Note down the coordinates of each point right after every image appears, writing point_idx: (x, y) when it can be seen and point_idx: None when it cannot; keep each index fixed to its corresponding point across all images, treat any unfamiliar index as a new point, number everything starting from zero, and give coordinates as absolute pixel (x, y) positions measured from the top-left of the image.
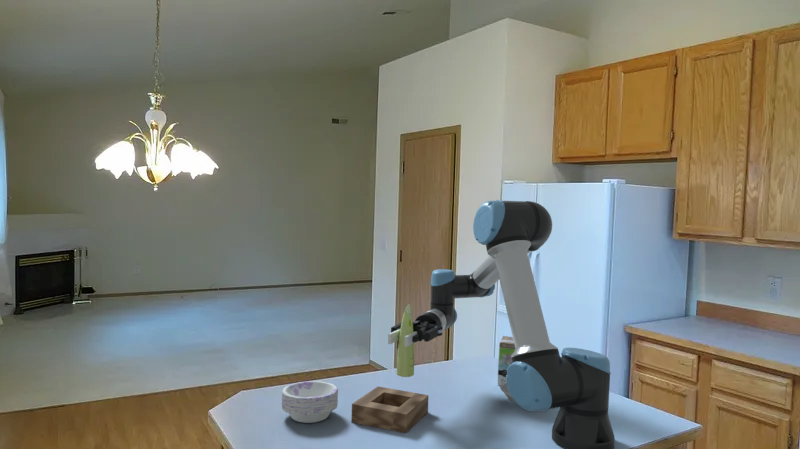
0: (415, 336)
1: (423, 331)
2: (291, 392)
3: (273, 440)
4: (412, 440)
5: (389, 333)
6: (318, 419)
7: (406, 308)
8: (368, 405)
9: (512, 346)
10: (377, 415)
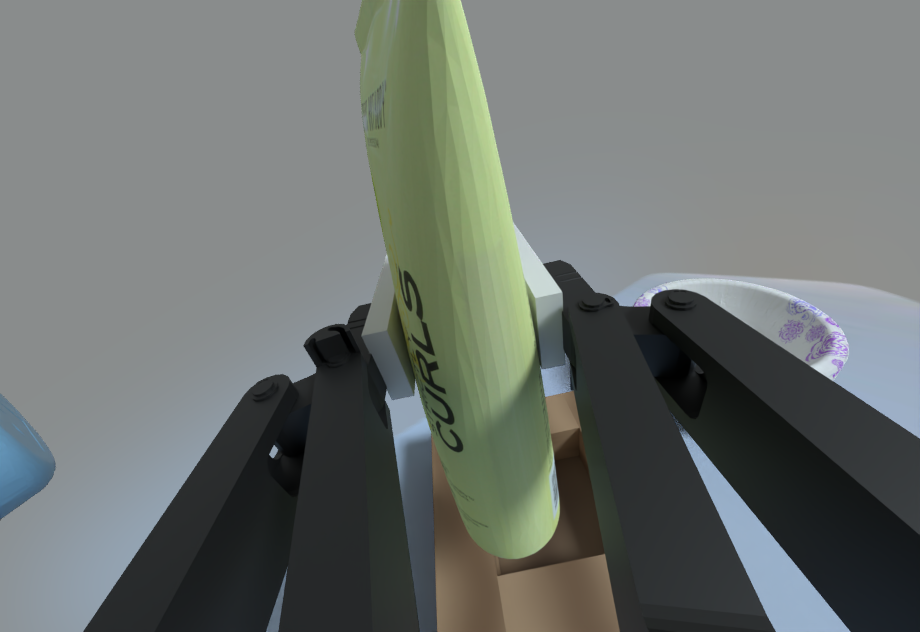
0: (363, 311)
1: (313, 447)
2: (777, 316)
3: (619, 299)
4: (414, 434)
5: (515, 226)
6: None
7: (359, 24)
8: (557, 403)
9: None
10: None
